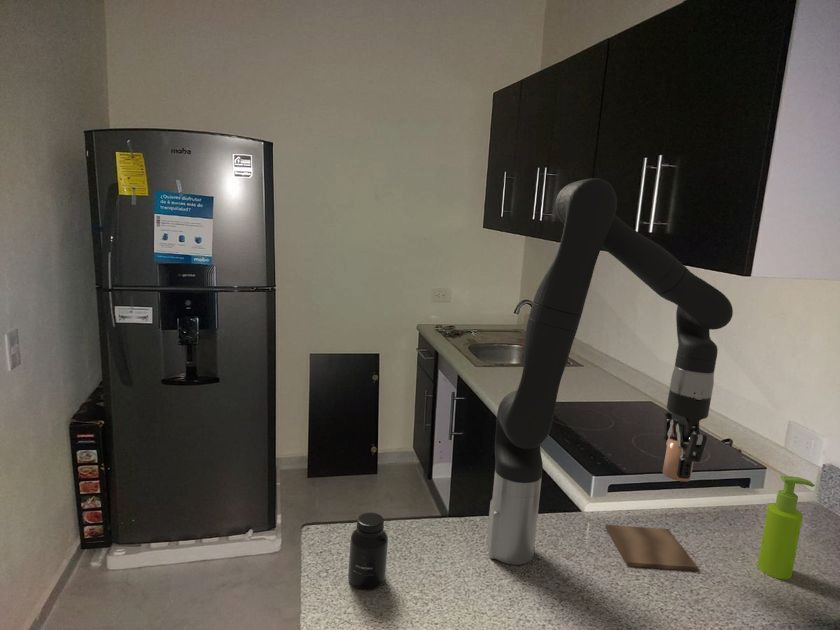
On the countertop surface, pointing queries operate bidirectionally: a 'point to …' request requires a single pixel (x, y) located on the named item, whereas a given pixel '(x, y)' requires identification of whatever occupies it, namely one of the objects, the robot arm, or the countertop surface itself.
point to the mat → (650, 548)
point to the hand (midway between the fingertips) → (676, 470)
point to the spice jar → (673, 460)
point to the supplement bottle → (368, 552)
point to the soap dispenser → (781, 531)
